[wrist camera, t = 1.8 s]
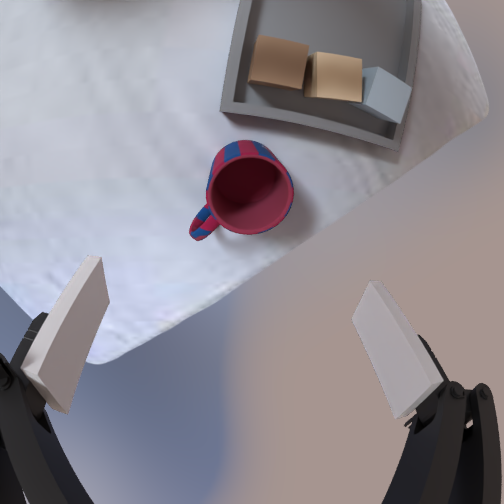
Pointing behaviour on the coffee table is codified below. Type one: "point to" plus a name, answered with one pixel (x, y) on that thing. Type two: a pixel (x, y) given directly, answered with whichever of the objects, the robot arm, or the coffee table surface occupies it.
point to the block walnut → (278, 63)
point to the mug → (244, 191)
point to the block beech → (333, 77)
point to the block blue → (383, 95)
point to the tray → (328, 41)
